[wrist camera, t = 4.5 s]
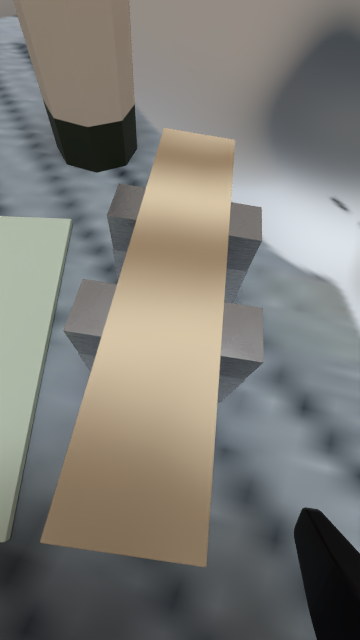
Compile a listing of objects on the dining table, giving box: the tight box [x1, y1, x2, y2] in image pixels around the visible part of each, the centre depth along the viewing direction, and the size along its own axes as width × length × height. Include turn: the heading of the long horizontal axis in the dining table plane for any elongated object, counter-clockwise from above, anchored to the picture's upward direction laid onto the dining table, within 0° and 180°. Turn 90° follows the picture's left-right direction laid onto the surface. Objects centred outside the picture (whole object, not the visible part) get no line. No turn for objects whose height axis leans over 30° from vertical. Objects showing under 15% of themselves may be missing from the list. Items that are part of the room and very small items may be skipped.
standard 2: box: [63, 279, 263, 402], centre depth 15 cm, size 2×8×8 cm, turn 83°
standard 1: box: [107, 184, 262, 303], centre depth 18 cm, size 2×8×8 cm, turn 82°
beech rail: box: [40, 128, 235, 567], centre depth 12 cm, size 16×4×5 cm, turn 172°
